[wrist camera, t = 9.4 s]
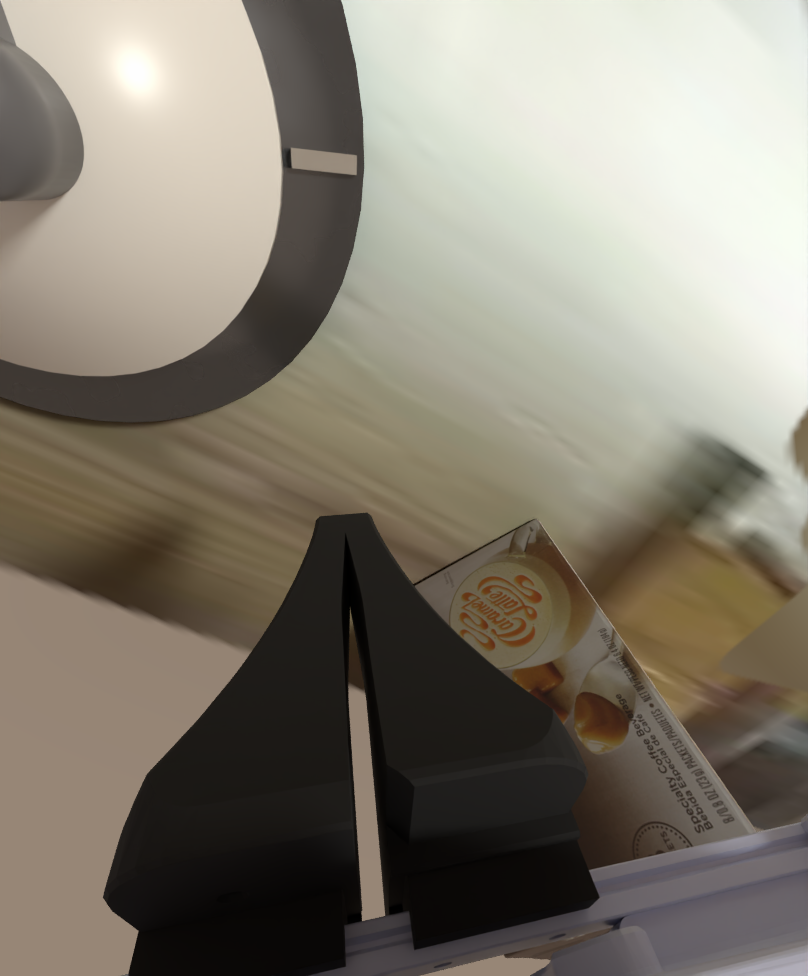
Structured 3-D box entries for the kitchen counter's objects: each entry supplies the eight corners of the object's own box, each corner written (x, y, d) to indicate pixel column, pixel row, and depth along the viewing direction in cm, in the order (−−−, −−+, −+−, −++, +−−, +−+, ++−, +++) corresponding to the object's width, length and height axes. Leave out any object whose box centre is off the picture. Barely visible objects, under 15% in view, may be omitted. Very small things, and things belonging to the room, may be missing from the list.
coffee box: (453, 633, 30) (557, 968, 17) (407, 586, 27) (493, 962, 14) (572, 571, 29) (786, 890, 16) (539, 512, 25) (782, 861, 12)
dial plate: (-121, 410, 16) (-149, 424, 15) (-870, -747, 6) (-1094, -924, 5) (356, 413, 19) (358, 425, 19) (372, -337, 9) (378, -398, 8)
